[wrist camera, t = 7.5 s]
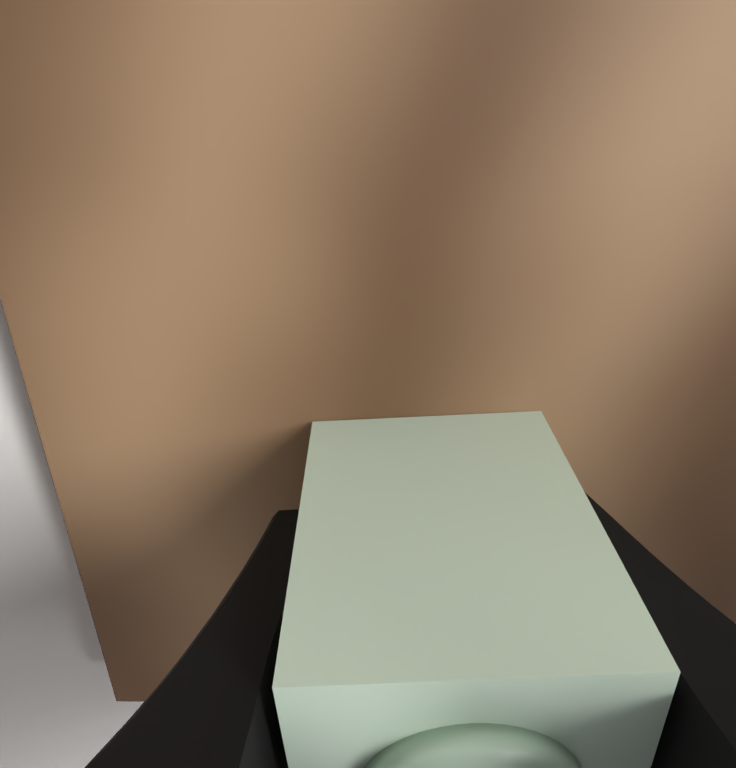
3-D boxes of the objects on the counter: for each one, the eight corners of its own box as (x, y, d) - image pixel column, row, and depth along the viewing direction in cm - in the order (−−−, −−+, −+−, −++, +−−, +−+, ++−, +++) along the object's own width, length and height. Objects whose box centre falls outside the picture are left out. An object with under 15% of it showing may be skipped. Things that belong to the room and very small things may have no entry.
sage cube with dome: (541, 410, 10) (696, 701, 5) (523, 577, 12) (627, 900, 7) (312, 421, 10) (267, 717, 5) (330, 585, 12) (309, 910, 7)
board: (1219, -671, 6) (1414, -843, 5) (674, 662, 15) (697, 706, 14) (-217, -738, 5) (-355, -932, 4) (134, 656, 15) (116, 701, 14)
